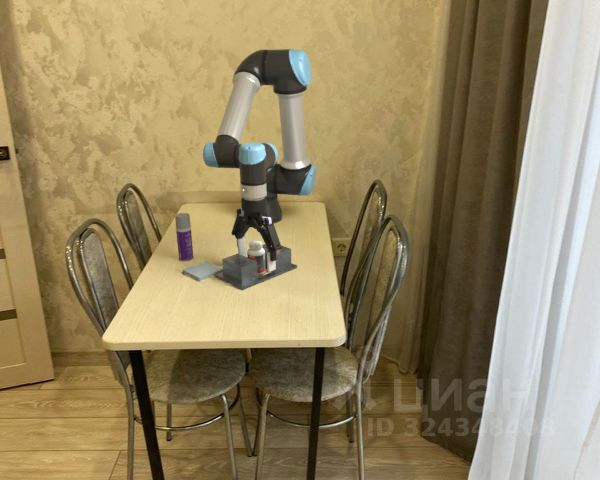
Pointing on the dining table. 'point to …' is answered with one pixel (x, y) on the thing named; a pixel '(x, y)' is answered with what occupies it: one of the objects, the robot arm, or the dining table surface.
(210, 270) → the pad
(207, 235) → the dining table surface
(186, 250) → the container
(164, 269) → the dining table surface
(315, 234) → the dining table surface
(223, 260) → the housing
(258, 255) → the pill bottle
